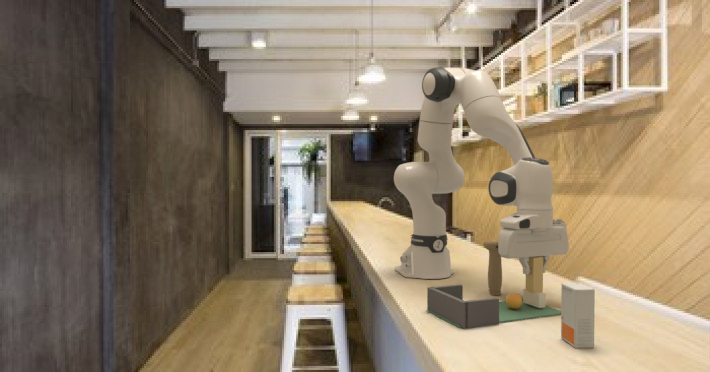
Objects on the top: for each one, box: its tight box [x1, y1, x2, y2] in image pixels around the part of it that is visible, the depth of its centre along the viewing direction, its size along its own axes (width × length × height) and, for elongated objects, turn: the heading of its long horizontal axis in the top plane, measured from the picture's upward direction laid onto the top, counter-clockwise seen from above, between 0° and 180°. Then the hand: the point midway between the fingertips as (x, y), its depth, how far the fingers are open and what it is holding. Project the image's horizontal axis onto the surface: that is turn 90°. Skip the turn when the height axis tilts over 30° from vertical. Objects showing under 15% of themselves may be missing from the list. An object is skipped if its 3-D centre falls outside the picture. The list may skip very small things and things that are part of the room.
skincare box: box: [560, 282, 596, 349], centre depth 105 cm, size 6×4×12 cm
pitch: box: [426, 298, 561, 329], centre depth 128 cm, size 15×31×1 cm, turn 111°
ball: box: [505, 292, 523, 309], centre depth 129 cm, size 4×4×4 cm
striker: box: [522, 256, 546, 308], centre depth 132 cm, size 6×3×13 cm, turn 21°
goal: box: [426, 283, 500, 330], centre depth 124 cm, size 16×10×6 cm, turn 21°
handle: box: [483, 241, 503, 297], centre depth 146 cm, size 5×6×15 cm
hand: (534, 273), depth 132 cm, fingers closed on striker, 3 cm apart
